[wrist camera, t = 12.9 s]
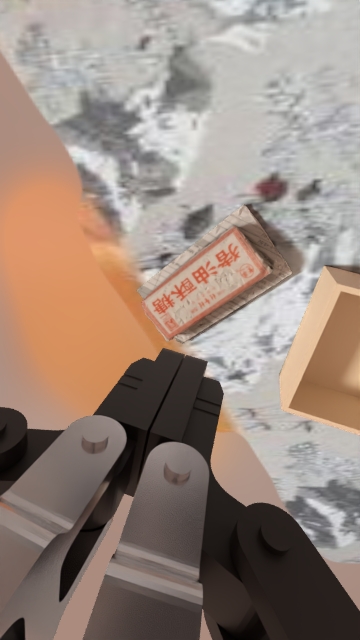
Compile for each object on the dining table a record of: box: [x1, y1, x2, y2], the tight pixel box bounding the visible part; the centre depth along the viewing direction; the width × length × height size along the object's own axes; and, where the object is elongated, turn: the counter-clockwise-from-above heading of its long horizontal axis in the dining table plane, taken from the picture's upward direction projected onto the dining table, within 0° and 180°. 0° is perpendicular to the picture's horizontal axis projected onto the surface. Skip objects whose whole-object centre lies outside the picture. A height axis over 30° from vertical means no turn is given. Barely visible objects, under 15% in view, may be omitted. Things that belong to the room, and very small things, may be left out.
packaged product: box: [137, 205, 292, 344], centre depth 39 cm, size 18×5×10 cm
